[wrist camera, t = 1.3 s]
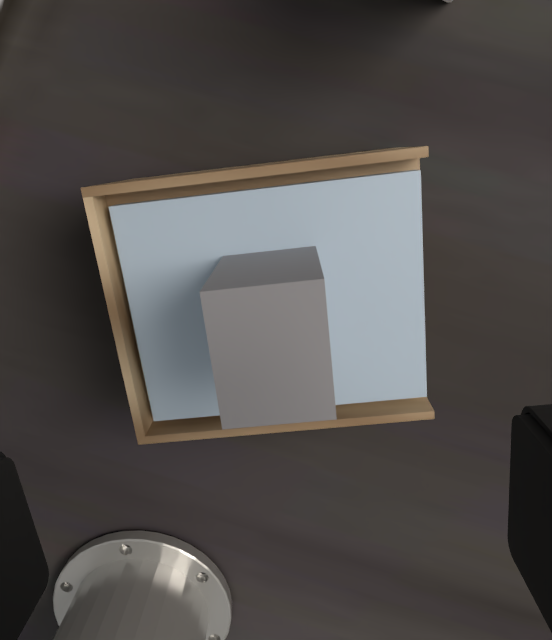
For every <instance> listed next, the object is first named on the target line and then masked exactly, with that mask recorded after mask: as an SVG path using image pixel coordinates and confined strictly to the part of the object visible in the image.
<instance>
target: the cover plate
mask: <svg viewBox="0 0 552 640" xmlns="http://www.w3.org/2000/svg"><path fill="white" fill-rule="evenodd" d="M109 211H110V216H111V221H112V226H113V230H114V235H115V240H116V245H117V249H118V254H119V259H120V264H121V268H122V273H123V278H124V282H125V287H126V292H127V297H128V301H129V306H130V311H131V316H132V320H133V325H134V330H135V335H136V339H137V344H138V349H139V354H140V358H141V363H142V368H143V373H144V377H145V382H146V387H147V391H148V396H149V401H150V406H151V410H152V415H153V420H154V421H163V420H174V419H185V418H196V417H207V416H219V415H220V419H221V425H222V430H223V429H234V428H245V427H257V426H268V425H279V424H291V423H302V422H313V421H325V420H336V419H337V417H336V405H341V404H352V403H363V402H374V401H386V400H397V399H408V398H419V397H427V383H426V346H425V310H424V274H423V237H422V201H421V170H406V171H398V172H389V173H381V174H372V175H364V176H355V177H346V178H338V179H329V180H321V181H312V182H304V183H295V184H287V185H278V186H270V187H261V188H252V189H244V190H235V191H227V192H218V193H210V194H201V195H193V196H184V197H176V198H167V199H158V200H150V201H141V202H133V203H124V204H116V205H113V206H109Z"/></svg>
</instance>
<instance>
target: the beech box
mask: <svg viewBox="0 0 552 640" xmlns="http://www.w3.org/2000/svg"><path fill="white" fill-rule="evenodd" d="M424 157H428V146H422V147H400V148H387V149H379V150H370V151H362V152H353V153H345V154H337V155H328V156H320V157H312V158H303V159H295V160H287V161H278V162H270V163H262V164H253V165H245V166H237V167H228V168H220V169H212V170H203V171H195V172H187V173H178V174H170V175H162V176H153V177H145V178H137V179H130V180H124V181H118V182H112V183H106V184H100V185H94V186H88V187H82V188H81V192H82V197H83V201H84V205H85V210H86V214H87V219H88V223H89V228H90V232H91V237H92V241H93V245H94V250H95V254H96V259H97V263H98V268H99V272H100V277H101V281H102V285H103V290H104V294H105V299H106V303H107V308H108V312H109V317H110V321H111V325H112V330H113V334H114V339H115V343H116V348H117V352H118V357H119V361H120V366H121V370H122V374H123V379H124V383H125V388H126V392H127V397H128V401H129V406H130V410H131V414H132V419H133V423H134V428H135V432H136V437H137V441H138V445H140V444H151V443H163V442H174V441H186V440H197V439H209V438H220V437H232V436H243V435H255V434H266V433H278V432H289V431H301V430H312V429H324V428H335V427H346V426H358V425H369V424H381V423H392V422H404V421H415V420H427V419H434V410H433V408H432V406H431V404H430V402H429V401H428V399H427V397H419V398H408V399H397V400H386V401H374V402H363V403H352V404H341V405H336V417H337V419H336V420H325V421H313V422H302V423H291V424H279V425H268V426H257V427H245V428H234V429H223V430H222V425H221V419H220V415H219V416H207V417H196V418H185V419H174V420H163V421H154V420H153V415H152V410H151V406H150V401H149V396H148V391H147V387H146V382H145V377H144V373H143V368H142V363H141V358H140V354H139V349H138V344H137V339H136V335H135V330H134V325H133V320H132V316H131V311H130V306H129V301H128V297H127V292H126V287H125V282H124V278H123V273H122V268H121V264H120V259H119V254H118V249H117V245H116V240H115V235H114V230H113V226H112V221H111V216H110V211H109V206H113V205H116V204H124V203H133V202H141V201H150V200H158V199H167V198H176V197H184V196H193V195H201V194H210V193H218V192H227V191H235V190H244V189H252V188H261V187H270V186H278V185H287V184H295V183H304V182H312V181H321V180H329V179H338V178H346V177H355V176H364V175H372V174H381V173H389V172H398V171H406V170H420V159H419V158H424Z"/></svg>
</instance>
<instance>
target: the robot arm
mask: <svg viewBox="0 0 552 640" xmlns="http://www.w3.org/2000/svg"><path fill="white" fill-rule="evenodd" d="M508 544H509V549H510V552H511V555H512V558H513V560H514V562H515V564H516V566H517V567H518V569H519V571H520V573H521V575H522V577H523V579H524V581H525V583H526V585H527V586H528V588H529V590H530V592H531V594H532V596H533V598H534V600H535V602H536V604H537V605H538V607H539V609H540V611H541V613H542V615H543V617H544V619H545V621H546V623H547V624H548V626H549V628H550V630H551V632H552V404H549V405H537V406H525V407H524V408H523V410H522V413H521V415H515V416H514V417H513V419H512V431H511V459H510V486H509V514H508ZM48 576H49V571H48V566H47V562H46V559H45V556H44V553H43V550H42V547H41V544H40V541H39V538H38V535H37V532H36V529H35V526H34V523H33V519H32V516H31V513H30V510H29V507H28V504H27V501H26V498H25V495H24V492H23V489H22V486H21V483H20V479H19V476H18V473H17V470H16V467H15V464H14V462H13V461H12V460H11V459H10V458H8V457H7V458H6V456H5V455H4V454H3V453H2V452H0V640H17V638H18V637H19V635H20V633H21V631H22V630H23V628H24V626H25V624H26V622H27V621H28V619H29V617H30V615H31V613H32V612H33V610H34V608H35V606H36V604H37V603H38V601H39V599H40V597H41V596H42V594H43V592H44V590H45V588H46V586H47V582H48ZM53 608H54V614H55V617H56V620H57V623H58V625H59V629H58V631H57V633H56V635H55V637H54V639H53V640H225V639H226V637H227V635H228V633H229V628H230V623H231V617H232V598H231V593H230V589H229V587H228V584H227V582H226V580H225V577H224V576H223V574H222V573H221V572H220V570H219V569H218V567H217V566H216V565H215V564H214V563H213V562H212V561H211V560H210V559H209V558H208V557H207V556H206V555H205V554H204V553H202V552H201V551H199V550H198V549H196V548H195V547H193V546H192V545H190V544H188V543H186V542H184V541H182V540H179V539H177V538H175V537H172V536H168V535H165V534H161V533H157V532H149V531H141V530H139V531H121V532H116V533H111V534H106V535H104V536H101V537H99V538H96V539H94V540H92V541H90V542H88V543H87V544H85V545H84V546H82V547H81V548H79V549H78V550H77V551H76V552H75V553H74V554H73V555H72V556H71V557H70V558H69V560H68V561H67V563H66V565H65V566H64V568H63V570H62V571H61V573H60V575H59V577H58V579H57V581H56V584H55V588H54V594H53Z"/></svg>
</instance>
